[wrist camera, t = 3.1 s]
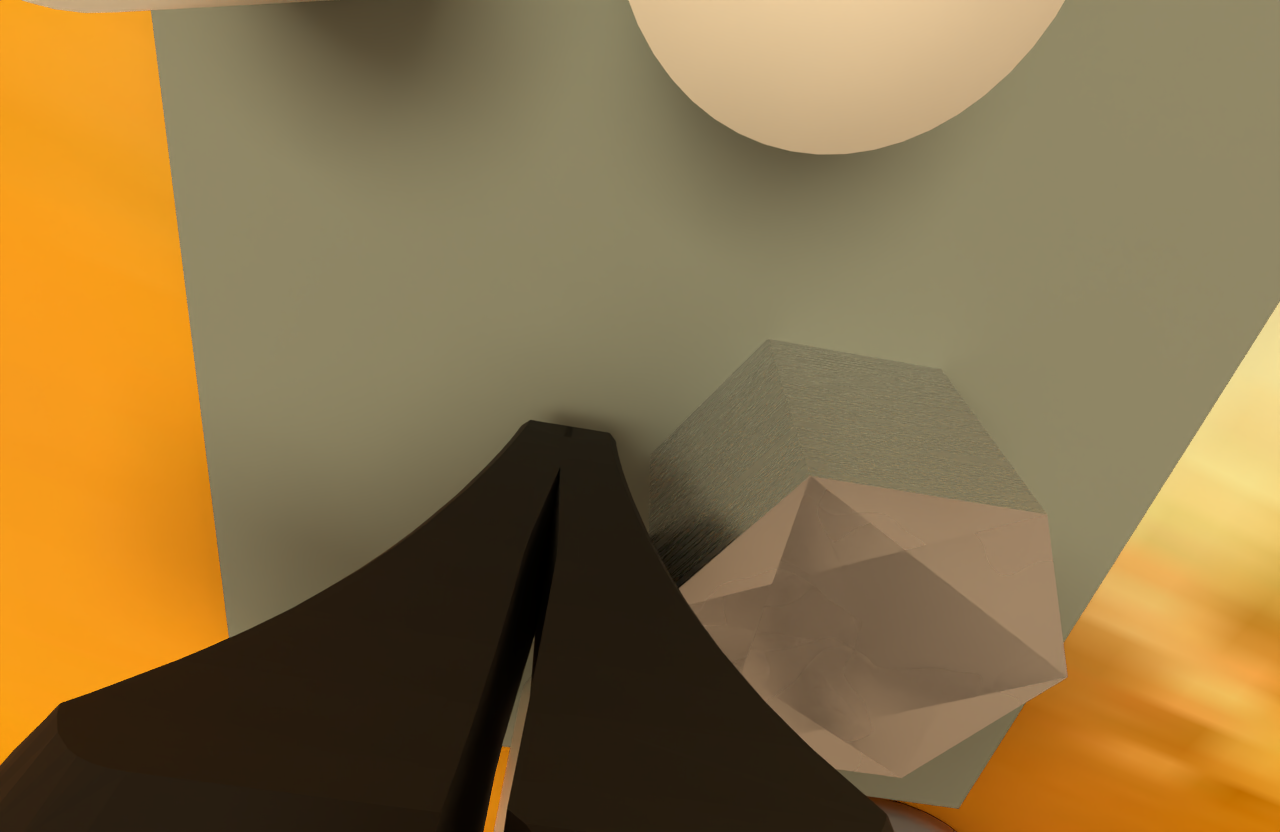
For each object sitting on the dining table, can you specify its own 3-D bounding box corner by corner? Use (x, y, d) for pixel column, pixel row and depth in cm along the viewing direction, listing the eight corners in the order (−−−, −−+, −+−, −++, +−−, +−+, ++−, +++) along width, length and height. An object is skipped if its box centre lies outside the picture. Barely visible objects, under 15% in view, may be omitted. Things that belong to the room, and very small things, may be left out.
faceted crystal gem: (1025, 383, 11) (1162, 533, 8) (917, 607, 13) (993, 789, 10) (679, 323, 11) (686, 455, 8) (626, 563, 13) (616, 739, 10)
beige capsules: (945, -202, 8) (1224, -384, 4) (657, 767, 16) (656, 1026, 12) (154, -382, 7) (-418, -791, 3) (263, 713, 15) (126, 966, 11)
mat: (1481, -70, 9) (1516, -73, 8) (951, 791, 17) (958, 808, 16) (126, -377, 8) (100, -395, 7) (247, 693, 16) (238, 710, 15)
